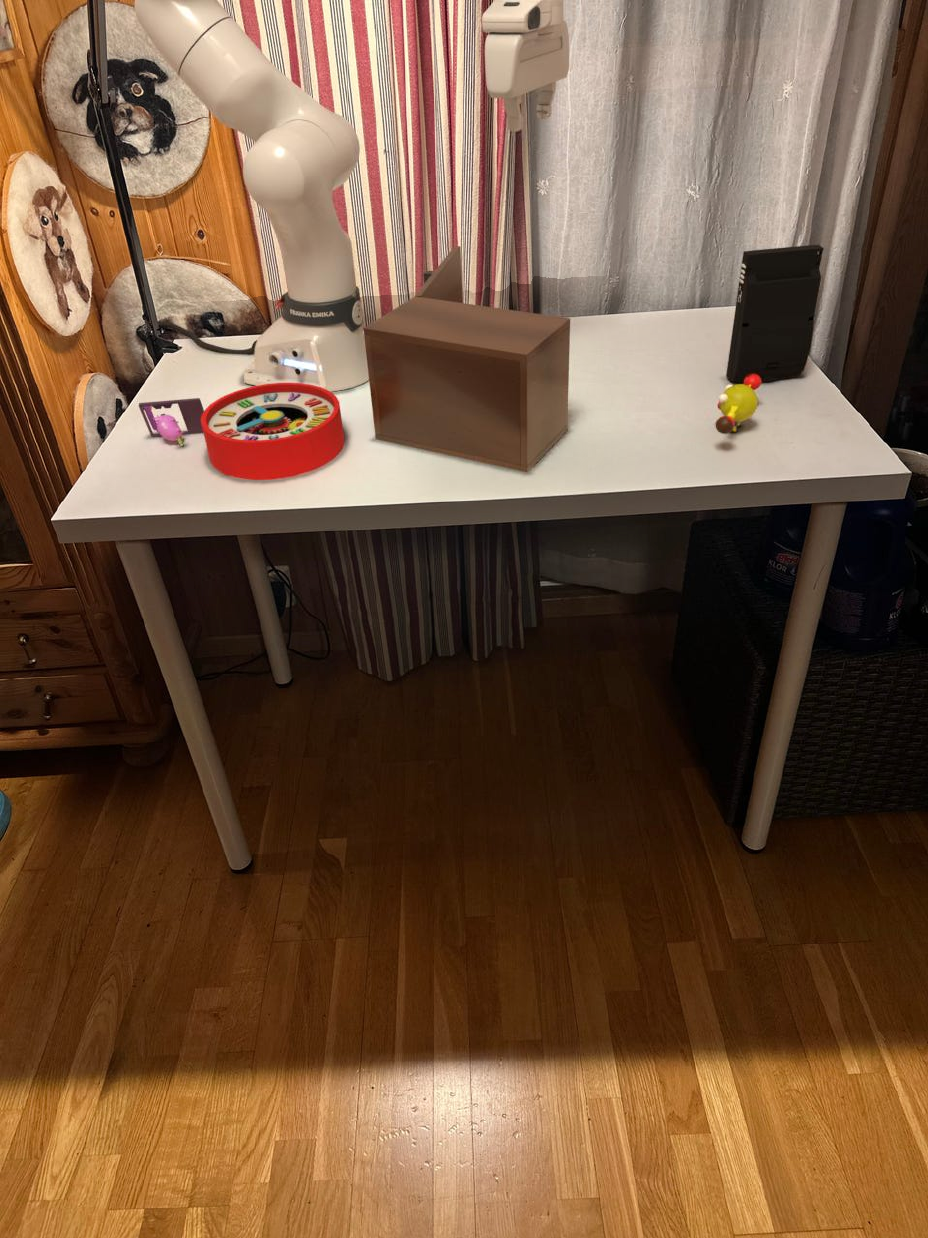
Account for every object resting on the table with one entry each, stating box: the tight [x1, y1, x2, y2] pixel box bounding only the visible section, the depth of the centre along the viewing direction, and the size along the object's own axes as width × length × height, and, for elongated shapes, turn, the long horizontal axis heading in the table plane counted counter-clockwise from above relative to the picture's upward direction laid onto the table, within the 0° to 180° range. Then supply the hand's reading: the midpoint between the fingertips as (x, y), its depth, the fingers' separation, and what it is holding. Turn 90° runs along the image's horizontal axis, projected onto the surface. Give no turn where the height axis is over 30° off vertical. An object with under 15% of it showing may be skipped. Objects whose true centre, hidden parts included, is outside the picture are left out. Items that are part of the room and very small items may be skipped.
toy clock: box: [201, 383, 345, 481], centre depth 135 cm, size 20×6×20 cm
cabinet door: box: [414, 245, 464, 303], centre depth 153 cm, size 6×25×17 cm, turn 166°
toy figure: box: [715, 374, 763, 435], centre depth 133 cm, size 18×6×7 cm, turn 152°
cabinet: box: [363, 295, 571, 473], centre depth 132 cm, size 14×25×17 cm, turn 61°
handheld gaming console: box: [725, 244, 824, 384], centre depth 143 cm, size 12×5×20 cm, turn 98°
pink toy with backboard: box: [138, 397, 205, 447], centre depth 138 cm, size 7×5×9 cm
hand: (530, 123), depth 134 cm, fingers open, 8 cm apart
